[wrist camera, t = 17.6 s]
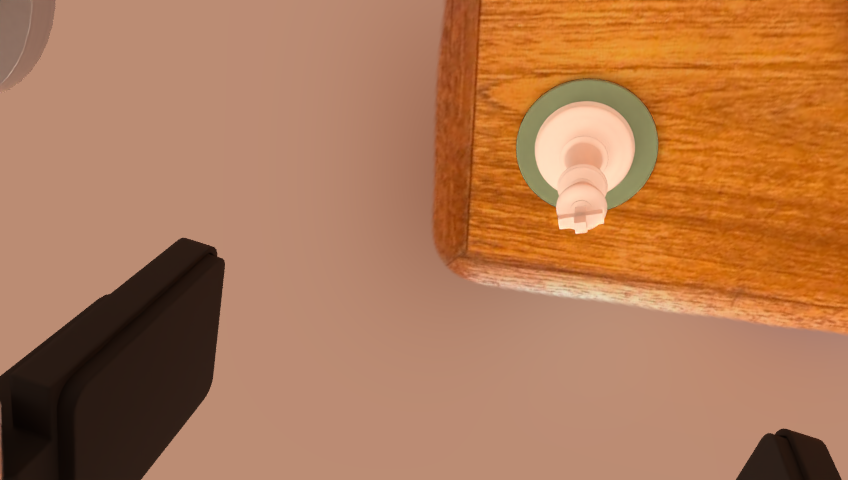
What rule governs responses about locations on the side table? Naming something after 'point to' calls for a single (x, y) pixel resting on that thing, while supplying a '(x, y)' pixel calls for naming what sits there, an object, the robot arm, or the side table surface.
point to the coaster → (599, 93)
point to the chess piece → (584, 160)
